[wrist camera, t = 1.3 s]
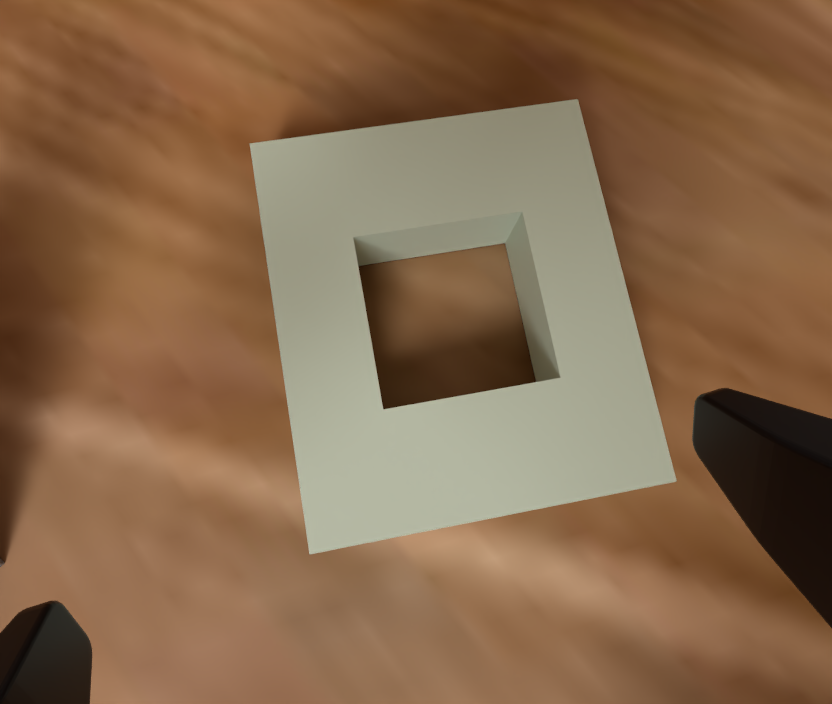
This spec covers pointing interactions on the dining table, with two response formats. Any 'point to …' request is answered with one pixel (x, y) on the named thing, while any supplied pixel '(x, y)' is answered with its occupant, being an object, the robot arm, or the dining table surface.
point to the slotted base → (538, 301)
